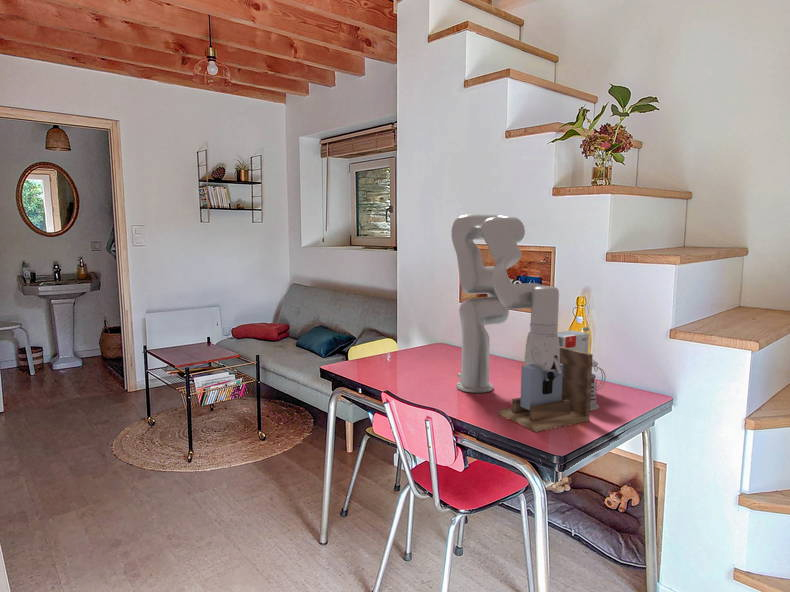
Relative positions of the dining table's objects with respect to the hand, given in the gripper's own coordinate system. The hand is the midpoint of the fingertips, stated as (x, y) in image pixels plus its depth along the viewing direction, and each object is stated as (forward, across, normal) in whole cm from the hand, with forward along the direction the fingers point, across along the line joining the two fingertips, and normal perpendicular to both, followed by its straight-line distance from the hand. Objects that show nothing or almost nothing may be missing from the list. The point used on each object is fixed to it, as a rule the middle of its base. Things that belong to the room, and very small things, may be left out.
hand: (541, 390), depth 155 cm
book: (+4, 0, 0) cm, 4 cm away
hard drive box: (+8, -18, +27) cm, 33 cm away
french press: (+8, -3, +21) cm, 23 cm away
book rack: (+8, 0, +1) cm, 8 cm away
